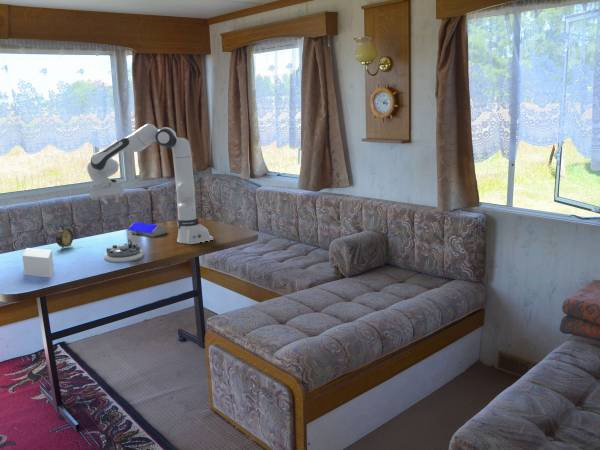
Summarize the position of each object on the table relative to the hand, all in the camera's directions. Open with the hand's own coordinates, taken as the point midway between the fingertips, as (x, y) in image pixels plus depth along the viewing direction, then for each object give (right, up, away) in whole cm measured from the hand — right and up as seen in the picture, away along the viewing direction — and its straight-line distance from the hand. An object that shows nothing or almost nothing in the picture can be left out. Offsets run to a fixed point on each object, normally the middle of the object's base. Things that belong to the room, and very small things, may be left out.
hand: (112, 202), depth 321 cm
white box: (-24, -38, -39) cm, 59 cm away
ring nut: (+12, -29, -15) cm, 34 cm away
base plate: (+12, -31, -14) cm, 36 cm away
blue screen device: (+9, -19, +41) cm, 47 cm away
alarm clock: (-30, -27, +6) cm, 41 cm away
